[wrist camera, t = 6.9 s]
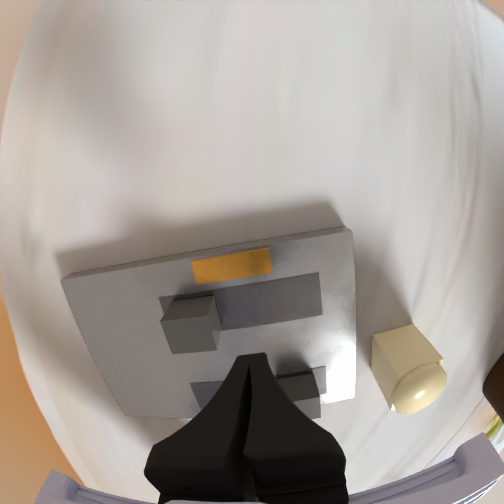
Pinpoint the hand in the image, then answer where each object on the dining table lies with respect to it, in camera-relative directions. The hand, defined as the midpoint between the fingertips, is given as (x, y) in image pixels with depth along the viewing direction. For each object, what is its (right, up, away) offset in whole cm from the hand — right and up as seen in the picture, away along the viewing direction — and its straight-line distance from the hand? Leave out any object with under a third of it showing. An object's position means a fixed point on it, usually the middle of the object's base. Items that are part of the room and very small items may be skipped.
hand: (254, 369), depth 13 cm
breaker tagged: (-4, +1, +7) cm, 8 cm away
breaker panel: (-3, -2, +9) cm, 10 cm away
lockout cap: (+12, -3, +9) cm, 16 cm away
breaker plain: (+3, -5, +8) cm, 10 cm away
